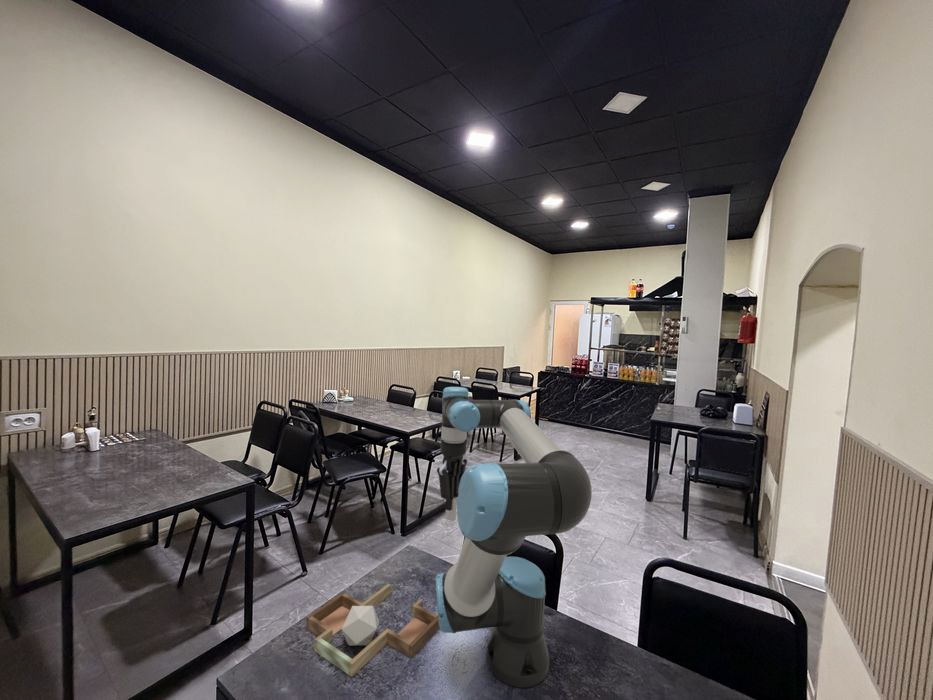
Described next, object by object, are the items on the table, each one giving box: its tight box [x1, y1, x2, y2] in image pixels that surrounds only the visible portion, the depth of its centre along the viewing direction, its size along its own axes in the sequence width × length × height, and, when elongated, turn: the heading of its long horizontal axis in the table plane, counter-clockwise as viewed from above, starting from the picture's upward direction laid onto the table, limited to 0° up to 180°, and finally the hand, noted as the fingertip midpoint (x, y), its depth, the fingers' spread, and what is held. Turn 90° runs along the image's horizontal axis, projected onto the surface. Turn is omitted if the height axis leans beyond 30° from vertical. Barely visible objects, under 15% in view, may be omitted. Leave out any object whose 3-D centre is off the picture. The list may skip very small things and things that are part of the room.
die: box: [341, 606, 380, 647], centre depth 97 cm, size 8×9×10 cm
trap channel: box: [305, 583, 440, 678], centre depth 101 cm, size 29×26×3 cm
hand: (450, 519), depth 113 cm, fingers closed
